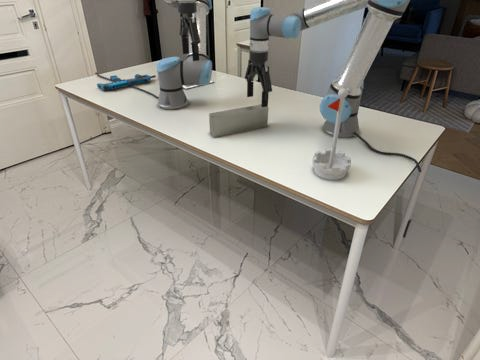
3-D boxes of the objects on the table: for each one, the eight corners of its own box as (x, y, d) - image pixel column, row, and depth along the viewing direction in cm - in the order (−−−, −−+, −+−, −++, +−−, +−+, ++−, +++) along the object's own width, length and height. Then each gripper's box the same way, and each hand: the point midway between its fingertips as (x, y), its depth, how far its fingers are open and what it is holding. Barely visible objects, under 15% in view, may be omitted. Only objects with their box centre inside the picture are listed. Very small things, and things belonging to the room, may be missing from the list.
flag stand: (334, 159, 128) (348, 80, 112) (356, 176, 118) (375, 92, 101) (304, 166, 124) (314, 84, 108) (324, 184, 114) (338, 97, 97)
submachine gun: (141, 68, 224) (160, 74, 207) (142, 74, 226) (160, 81, 209) (89, 78, 206) (105, 86, 189) (91, 85, 207) (106, 93, 191)
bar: (262, 122, 157) (263, 103, 152) (267, 126, 154) (268, 107, 149) (210, 133, 148) (208, 113, 143) (213, 137, 144) (212, 117, 139)
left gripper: (169, -1, 143) (174, 51, 154) (187, 5, 124) (191, 64, 136) (186, -2, 146) (190, 50, 157) (206, 4, 127) (209, 62, 138)
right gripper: (237, 45, 144) (237, 93, 156) (265, 58, 125) (263, 112, 137) (253, 43, 147) (251, 91, 158) (283, 56, 128) (279, 109, 140)
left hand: (190, 57), depth 146 cm, fingers open, 13 cm apart
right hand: (257, 101), depth 148 cm, fingers open, 13 cm apart
